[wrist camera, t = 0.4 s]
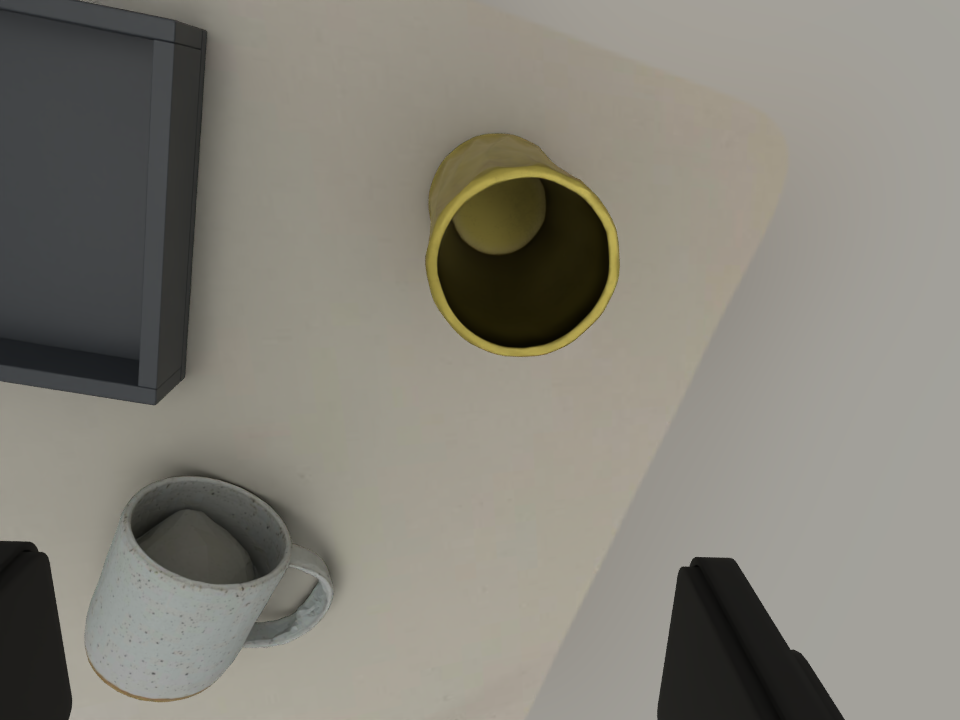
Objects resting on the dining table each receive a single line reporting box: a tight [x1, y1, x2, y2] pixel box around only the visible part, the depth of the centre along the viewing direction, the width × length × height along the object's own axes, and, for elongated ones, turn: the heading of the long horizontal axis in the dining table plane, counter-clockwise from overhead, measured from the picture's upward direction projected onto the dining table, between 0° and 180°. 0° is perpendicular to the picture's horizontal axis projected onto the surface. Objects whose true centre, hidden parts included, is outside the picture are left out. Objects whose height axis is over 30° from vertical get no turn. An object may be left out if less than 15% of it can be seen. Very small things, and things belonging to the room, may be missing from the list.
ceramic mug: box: [85, 476, 334, 702], centre depth 35 cm, size 11×8×8 cm
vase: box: [425, 134, 620, 357], centre depth 26 cm, size 6×6×14 cm
